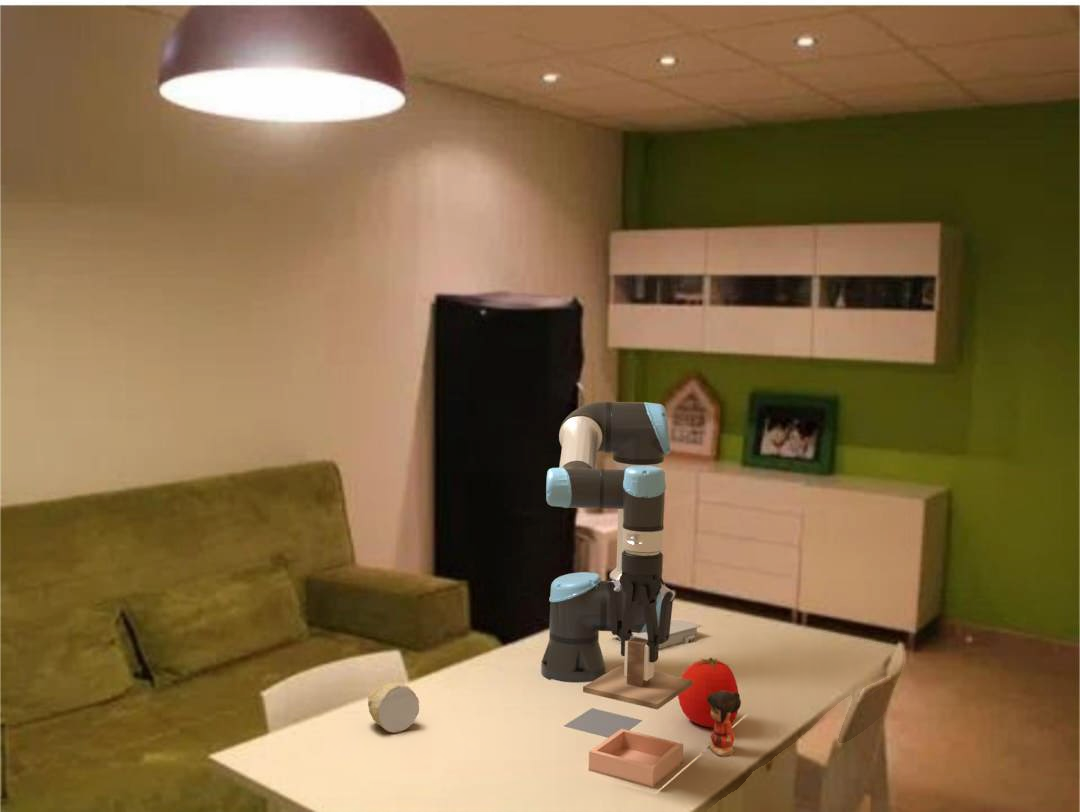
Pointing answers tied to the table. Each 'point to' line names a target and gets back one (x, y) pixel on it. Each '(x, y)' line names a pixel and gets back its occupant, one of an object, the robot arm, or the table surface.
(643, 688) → the lid
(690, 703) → the tomato
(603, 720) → the mat
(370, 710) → the cream grey rounded piece
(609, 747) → the dish
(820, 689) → the table surface
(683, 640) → the book
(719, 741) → the figurine
